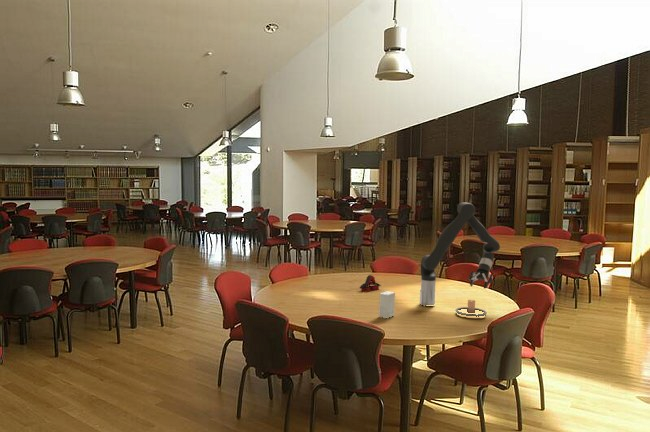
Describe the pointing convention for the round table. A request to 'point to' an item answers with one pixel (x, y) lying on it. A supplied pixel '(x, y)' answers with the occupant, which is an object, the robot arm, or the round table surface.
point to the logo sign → (369, 288)
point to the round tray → (471, 314)
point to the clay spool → (471, 306)
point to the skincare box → (387, 304)
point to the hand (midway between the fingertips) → (477, 286)
